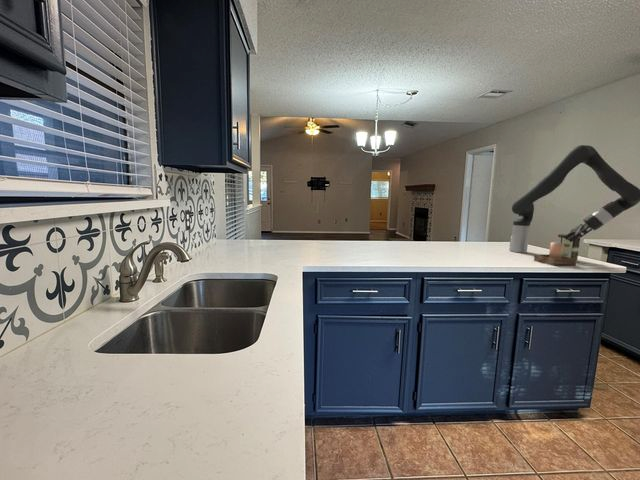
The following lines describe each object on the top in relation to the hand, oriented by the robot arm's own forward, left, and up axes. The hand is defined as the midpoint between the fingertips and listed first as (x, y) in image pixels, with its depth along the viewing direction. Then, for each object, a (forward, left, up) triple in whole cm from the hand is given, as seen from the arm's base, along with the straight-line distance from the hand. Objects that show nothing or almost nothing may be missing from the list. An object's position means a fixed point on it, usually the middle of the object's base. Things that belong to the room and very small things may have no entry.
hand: (567, 239), depth 168 cm
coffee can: (-10, +12, -13) cm, 21 cm away
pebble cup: (-3, -3, -12) cm, 13 cm away
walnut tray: (-3, -3, -13) cm, 14 cm away
